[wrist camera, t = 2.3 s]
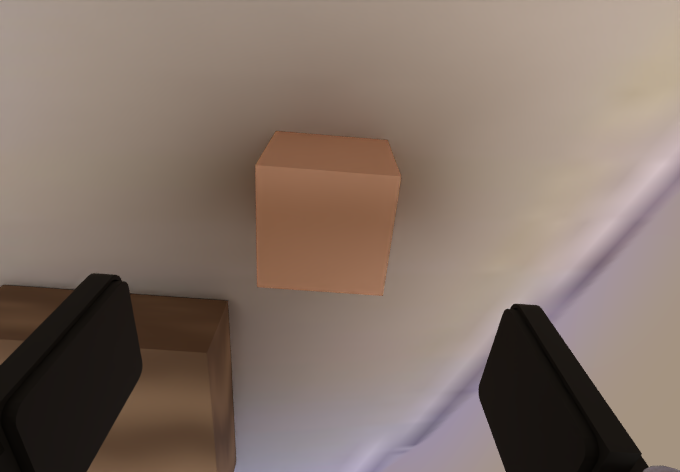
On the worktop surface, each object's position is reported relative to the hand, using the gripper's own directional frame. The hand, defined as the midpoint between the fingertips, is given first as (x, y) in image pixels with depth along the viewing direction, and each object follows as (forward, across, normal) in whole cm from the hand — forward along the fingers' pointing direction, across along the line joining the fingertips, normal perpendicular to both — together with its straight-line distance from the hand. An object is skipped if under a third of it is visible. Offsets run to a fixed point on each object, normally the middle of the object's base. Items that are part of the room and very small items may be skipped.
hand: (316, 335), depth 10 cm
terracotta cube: (+10, 0, 0) cm, 10 cm away
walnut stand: (+10, +11, +14) cm, 21 cm away
